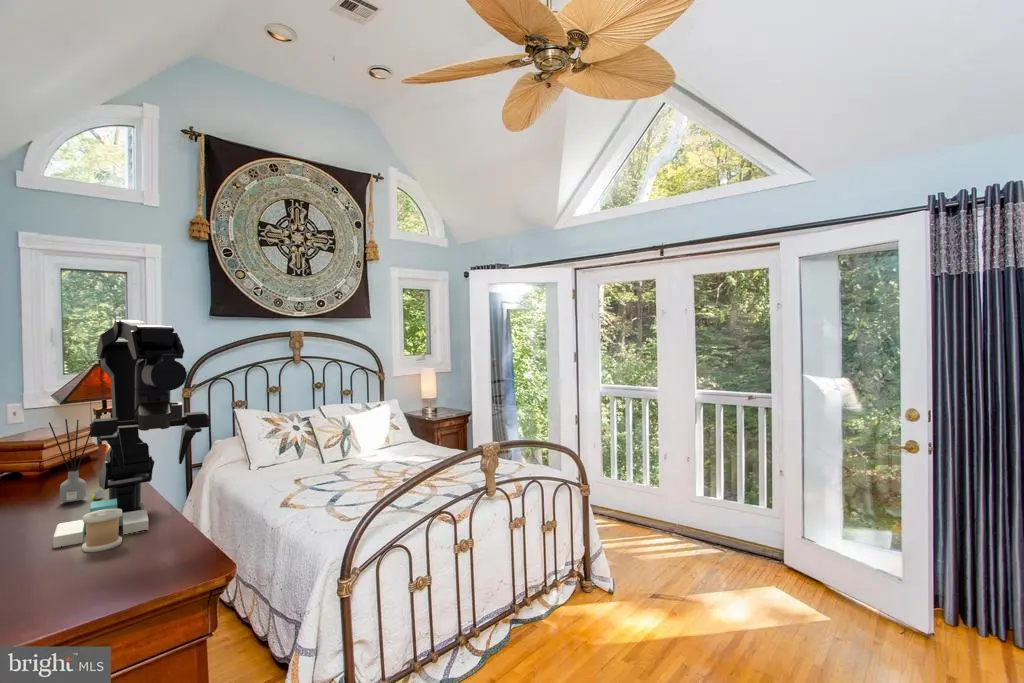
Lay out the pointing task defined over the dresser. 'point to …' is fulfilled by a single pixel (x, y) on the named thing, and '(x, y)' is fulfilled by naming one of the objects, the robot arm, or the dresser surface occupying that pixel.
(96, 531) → the bobbin
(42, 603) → the dresser surface
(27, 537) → the dresser surface
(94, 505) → the teal rectangular block
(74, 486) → the reed diffuser
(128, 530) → the notched board
